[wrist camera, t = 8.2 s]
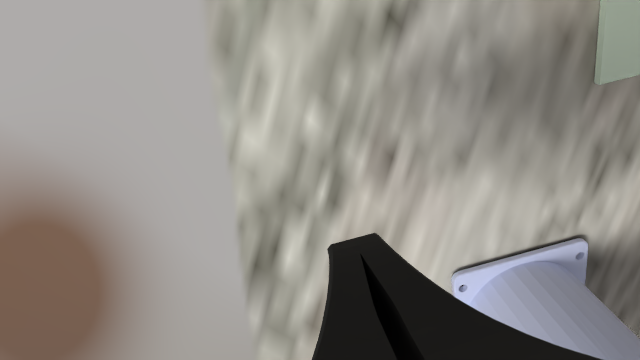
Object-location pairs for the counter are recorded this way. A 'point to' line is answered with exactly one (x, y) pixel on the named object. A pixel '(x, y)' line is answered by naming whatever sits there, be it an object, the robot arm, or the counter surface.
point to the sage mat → (618, 41)
